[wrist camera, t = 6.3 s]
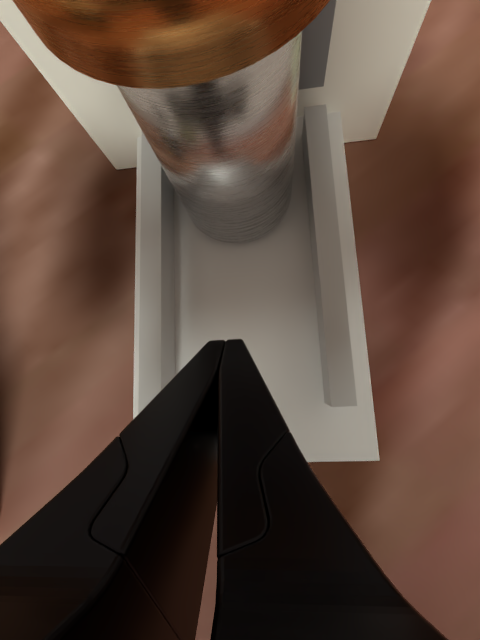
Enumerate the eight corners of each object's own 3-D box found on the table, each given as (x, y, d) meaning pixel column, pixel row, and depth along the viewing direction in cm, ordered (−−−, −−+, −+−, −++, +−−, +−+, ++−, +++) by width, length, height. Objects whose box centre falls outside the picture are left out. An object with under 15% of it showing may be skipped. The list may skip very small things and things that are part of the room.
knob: (318, 255, 13) (444, -153, 3) (166, 268, 13) (-139, -32, 4) (306, 118, 14) (367, -510, 4) (166, 136, 14) (-69, -367, 5)
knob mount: (416, 448, 13) (789, 633, 4) (108, 454, 15) (-227, 600, 5) (364, 51, 17) (481, -406, 7) (118, 87, 18) (-69, -252, 8)
